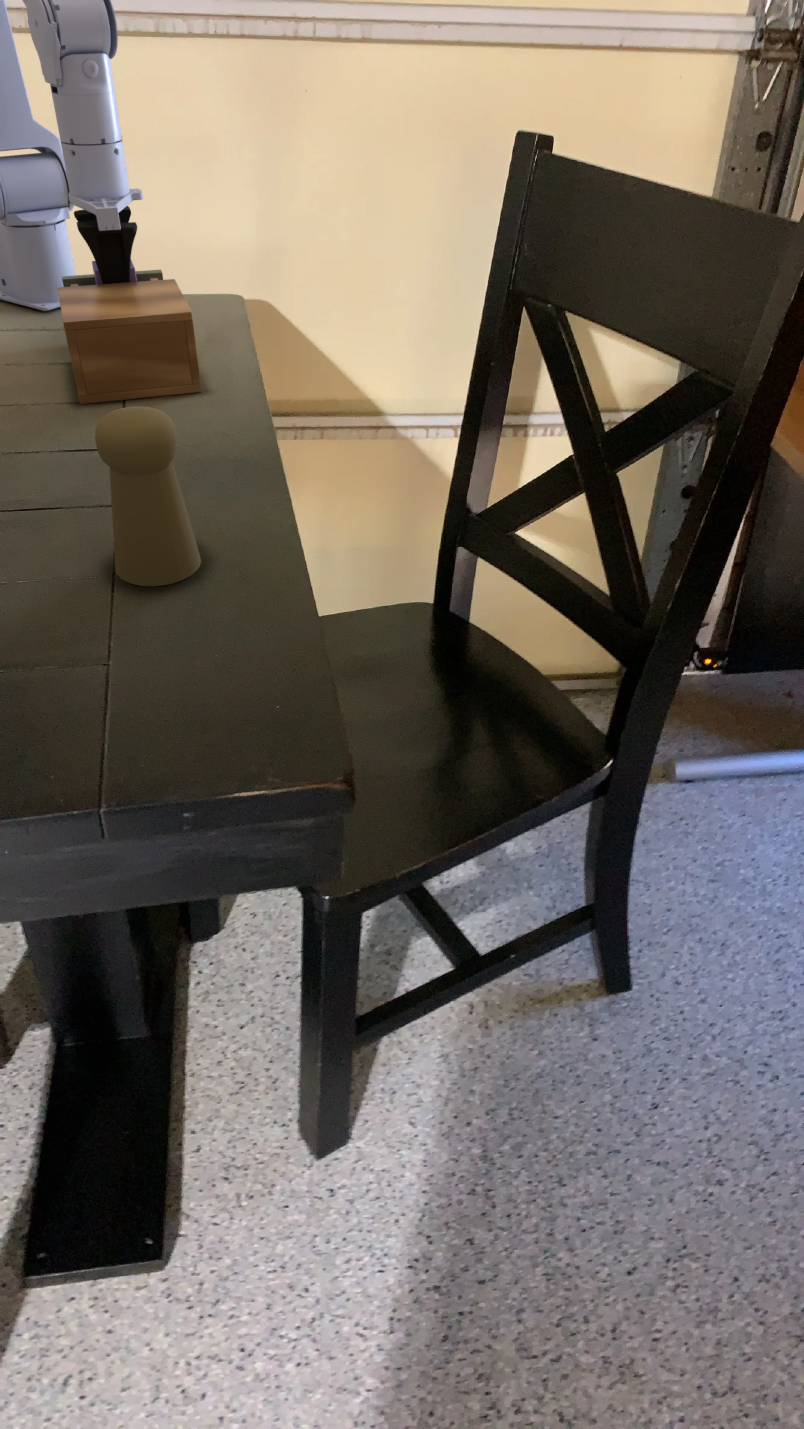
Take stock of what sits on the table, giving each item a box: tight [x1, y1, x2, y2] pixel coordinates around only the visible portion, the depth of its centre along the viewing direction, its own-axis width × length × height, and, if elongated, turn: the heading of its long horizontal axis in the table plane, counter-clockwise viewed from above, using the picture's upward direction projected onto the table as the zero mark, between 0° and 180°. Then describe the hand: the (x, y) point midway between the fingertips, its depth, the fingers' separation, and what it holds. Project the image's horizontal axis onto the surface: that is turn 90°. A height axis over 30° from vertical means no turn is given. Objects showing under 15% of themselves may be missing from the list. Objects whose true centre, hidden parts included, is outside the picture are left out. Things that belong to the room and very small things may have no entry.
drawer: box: [62, 269, 164, 287], centre depth 102 cm, size 15×10×6 cm
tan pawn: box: [94, 405, 202, 587], centre depth 64 cm, size 6×6×11 cm
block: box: [91, 259, 137, 285], centre depth 99 cm, size 4×4×4 cm
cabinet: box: [57, 278, 202, 405], centre depth 94 cm, size 12×12×8 cm
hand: (116, 290), depth 99 cm, fingers closed on block, 4 cm apart
